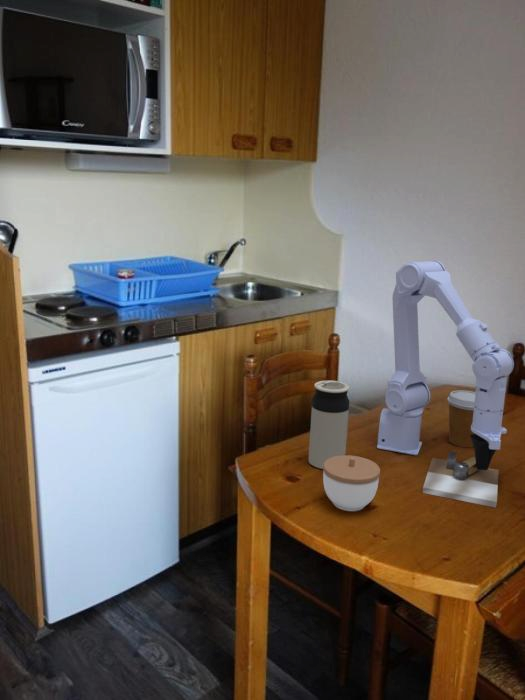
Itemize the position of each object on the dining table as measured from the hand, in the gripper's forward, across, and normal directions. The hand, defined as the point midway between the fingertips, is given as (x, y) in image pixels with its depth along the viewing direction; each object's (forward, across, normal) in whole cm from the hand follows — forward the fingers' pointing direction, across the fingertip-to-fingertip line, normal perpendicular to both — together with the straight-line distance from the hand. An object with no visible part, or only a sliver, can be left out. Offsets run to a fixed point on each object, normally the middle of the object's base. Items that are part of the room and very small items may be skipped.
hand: (481, 469), depth 131 cm
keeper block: (+1, +3, +6) cm, 7 cm away
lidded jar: (+2, -15, +29) cm, 33 cm away
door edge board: (+2, -2, +5) cm, 6 cm away
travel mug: (+2, +2, +33) cm, 33 cm away
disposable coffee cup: (+2, +21, -1) cm, 21 cm away
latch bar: (+1, 0, +3) cm, 3 cm away
